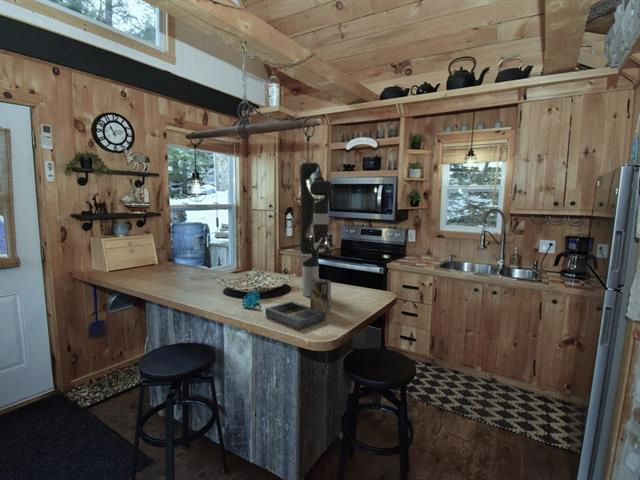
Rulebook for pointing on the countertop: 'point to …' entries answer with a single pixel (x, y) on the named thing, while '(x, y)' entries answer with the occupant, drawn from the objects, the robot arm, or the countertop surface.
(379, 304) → the countertop surface
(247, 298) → the gear
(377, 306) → the countertop surface
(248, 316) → the countertop surface
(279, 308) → the gray rectangular frame
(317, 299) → the coffee box
